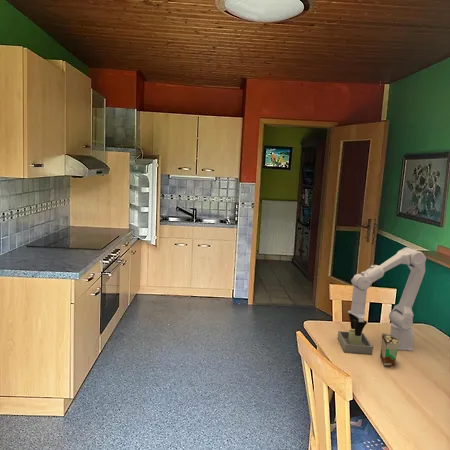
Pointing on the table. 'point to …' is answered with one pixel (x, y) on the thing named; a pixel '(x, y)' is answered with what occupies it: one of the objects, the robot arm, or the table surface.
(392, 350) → the food container
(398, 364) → the table surface
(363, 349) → the bin
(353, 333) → the block
